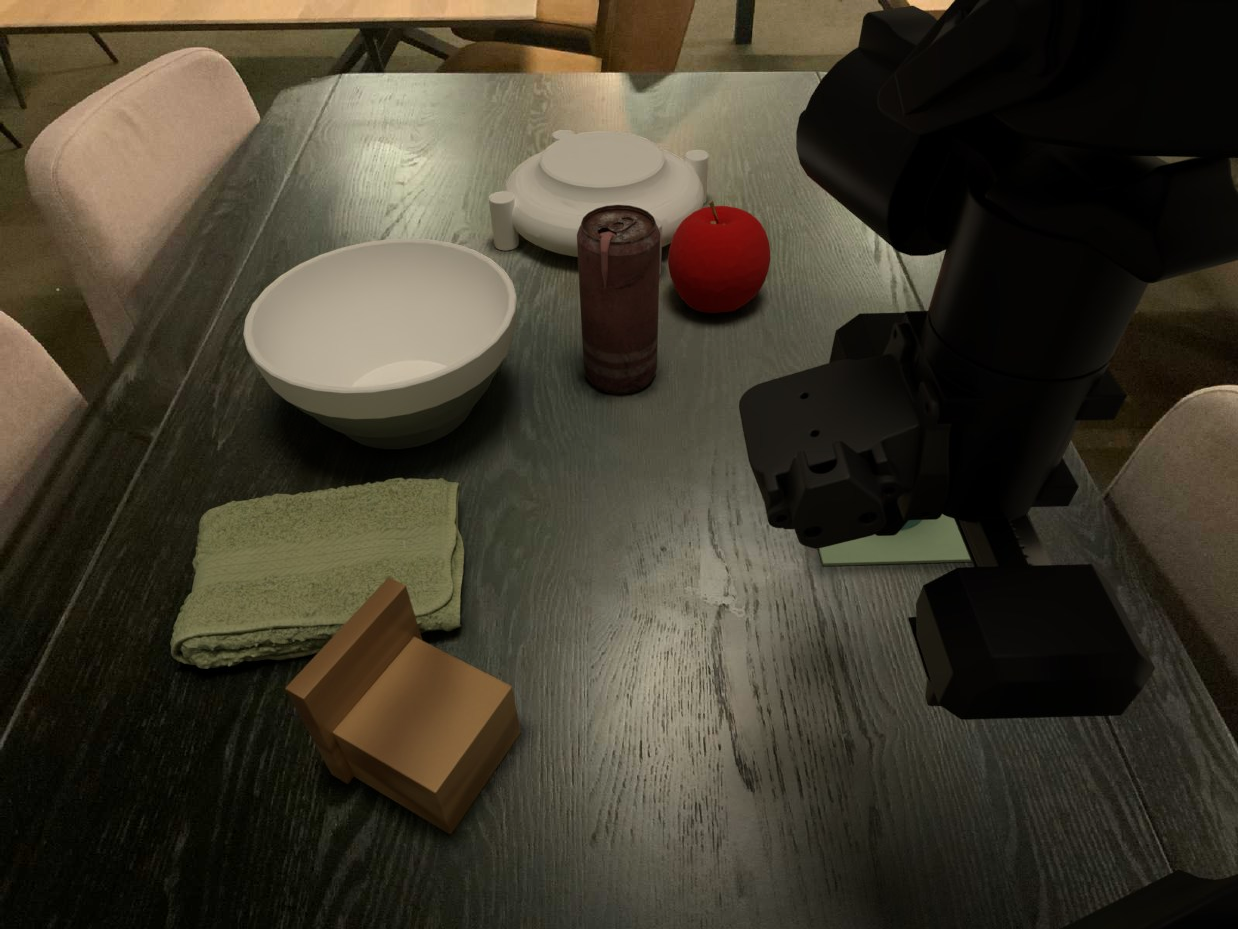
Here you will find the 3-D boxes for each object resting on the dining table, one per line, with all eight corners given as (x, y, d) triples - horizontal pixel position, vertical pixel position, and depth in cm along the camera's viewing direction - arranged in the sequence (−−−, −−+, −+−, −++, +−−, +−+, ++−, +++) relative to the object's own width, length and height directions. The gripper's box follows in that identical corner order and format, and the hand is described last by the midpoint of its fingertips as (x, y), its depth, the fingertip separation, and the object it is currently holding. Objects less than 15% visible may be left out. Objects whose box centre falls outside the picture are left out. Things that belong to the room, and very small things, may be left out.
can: (577, 394, 70) (567, 241, 60) (591, 347, 74) (585, 198, 64) (650, 402, 69) (653, 248, 59) (660, 354, 74) (665, 203, 64)
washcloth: (471, 639, 53) (464, 608, 51) (175, 684, 51) (154, 654, 49) (463, 489, 62) (456, 458, 60) (211, 522, 60) (194, 490, 58)
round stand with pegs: (536, 308, 79) (529, 238, 74) (460, 195, 94) (451, 132, 89) (761, 250, 86) (769, 182, 81) (656, 154, 101) (657, 92, 96)
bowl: (542, 336, 76) (533, 240, 69) (507, 498, 62) (492, 396, 55) (325, 330, 77) (296, 234, 70) (243, 487, 63) (197, 386, 56)
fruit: (691, 264, 84) (696, 166, 77) (778, 287, 81) (792, 187, 74) (649, 312, 78) (650, 211, 71) (741, 339, 75) (752, 236, 68)
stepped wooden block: (526, 725, 49) (510, 636, 43) (445, 844, 44) (413, 763, 38) (418, 668, 52) (388, 576, 45) (331, 774, 47) (284, 688, 41)
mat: (986, 561, 57) (988, 558, 57) (822, 566, 57) (823, 563, 57) (938, 448, 65) (939, 445, 65) (793, 452, 65) (794, 449, 65)
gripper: (735, 193, 34) (710, 469, 45) (828, 557, 21) (760, 822, 32) (1012, 187, 34) (920, 464, 45) (1278, 546, 21) (1056, 814, 32)
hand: (909, 610), depth 39 cm, fingers open, 9 cm apart
